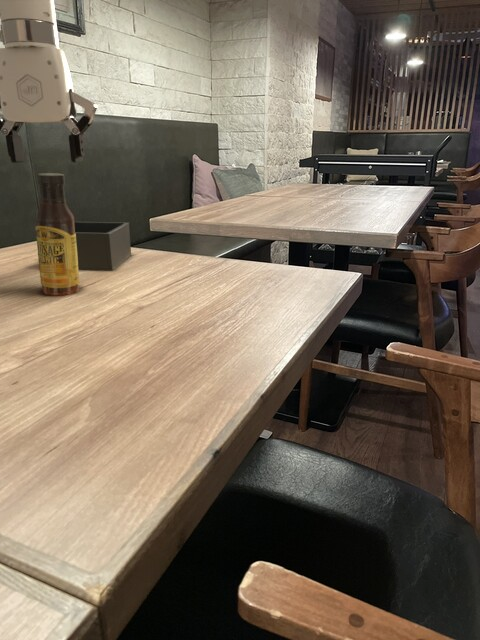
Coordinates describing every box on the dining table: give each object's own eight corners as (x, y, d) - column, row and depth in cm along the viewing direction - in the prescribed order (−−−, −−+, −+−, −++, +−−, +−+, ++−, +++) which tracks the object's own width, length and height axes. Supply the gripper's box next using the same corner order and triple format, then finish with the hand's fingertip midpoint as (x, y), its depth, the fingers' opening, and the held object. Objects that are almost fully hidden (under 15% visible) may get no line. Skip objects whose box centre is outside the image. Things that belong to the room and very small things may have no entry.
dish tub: (41, 270, 99) (36, 232, 97) (68, 255, 112) (64, 221, 109) (112, 272, 98) (109, 233, 96) (131, 257, 111) (128, 222, 108)
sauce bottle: (34, 296, 84) (17, 174, 77) (57, 286, 89) (43, 172, 82) (67, 299, 82) (52, 175, 75) (89, 289, 87) (77, 173, 80)
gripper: (-41, 35, 69) (-18, 163, 75) (79, 33, 68) (92, 163, 74) (-12, 45, 76) (7, 161, 82) (97, 43, 75) (108, 161, 81)
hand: (47, 162), depth 78 cm, fingers open, 9 cm apart
